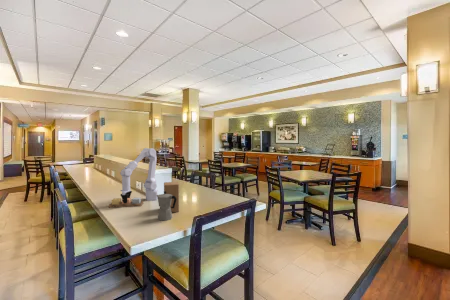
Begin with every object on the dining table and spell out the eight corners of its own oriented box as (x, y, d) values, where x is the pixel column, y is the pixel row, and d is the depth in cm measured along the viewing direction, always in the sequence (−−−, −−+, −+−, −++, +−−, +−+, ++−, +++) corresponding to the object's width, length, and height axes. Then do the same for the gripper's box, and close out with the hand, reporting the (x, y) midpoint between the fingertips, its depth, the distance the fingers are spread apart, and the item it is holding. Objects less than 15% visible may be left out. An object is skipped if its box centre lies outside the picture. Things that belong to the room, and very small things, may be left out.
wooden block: (164, 213, 156) (164, 185, 155) (164, 209, 165) (163, 182, 164) (178, 212, 158) (178, 184, 157) (178, 208, 168) (177, 181, 167)
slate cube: (140, 203, 176) (140, 197, 175) (139, 205, 171) (139, 199, 170) (134, 204, 175) (134, 197, 175) (132, 206, 170) (132, 199, 170)
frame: (143, 204, 177) (143, 200, 177) (141, 207, 169) (140, 203, 169) (112, 205, 174) (112, 202, 174) (108, 208, 166) (108, 205, 166)
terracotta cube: (124, 204, 174) (123, 198, 174) (130, 204, 174) (130, 197, 174) (122, 206, 169) (121, 199, 169) (128, 206, 170) (128, 199, 169)
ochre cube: (120, 204, 173) (120, 198, 173) (118, 206, 168) (118, 199, 168) (114, 204, 173) (113, 198, 172) (111, 206, 168) (111, 200, 168)
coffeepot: (152, 219, 144) (151, 191, 143) (161, 214, 153) (161, 188, 152) (172, 222, 139) (172, 194, 138) (180, 217, 147) (180, 190, 146)
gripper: (123, 182, 177) (123, 199, 178) (117, 186, 163) (117, 204, 164) (132, 182, 178) (133, 199, 179) (127, 186, 164) (128, 204, 165)
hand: (126, 201), depth 172 cm, fingers open, 6 cm apart
